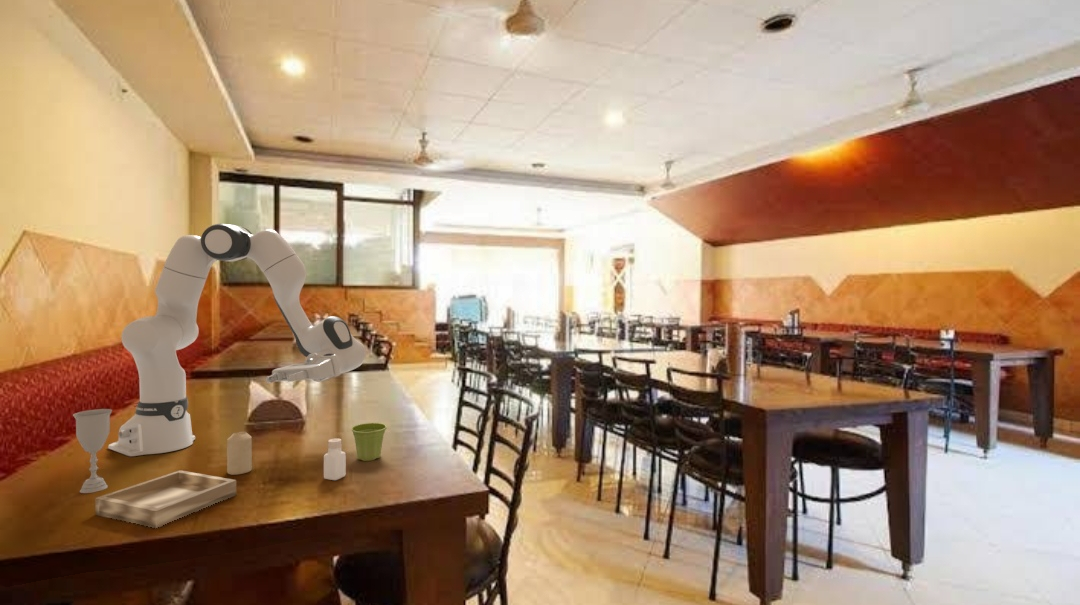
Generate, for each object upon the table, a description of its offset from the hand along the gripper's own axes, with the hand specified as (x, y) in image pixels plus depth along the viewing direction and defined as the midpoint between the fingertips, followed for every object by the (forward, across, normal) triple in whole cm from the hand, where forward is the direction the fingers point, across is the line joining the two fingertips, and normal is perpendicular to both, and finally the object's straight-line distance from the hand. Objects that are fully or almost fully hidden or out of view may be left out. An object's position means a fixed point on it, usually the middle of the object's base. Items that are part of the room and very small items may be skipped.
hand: (278, 379), depth 146 cm
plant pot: (-9, +19, +26) cm, 34 cm away
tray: (+35, +6, +18) cm, 40 cm away
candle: (+15, -1, +20) cm, 25 cm away
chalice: (+39, -18, +14) cm, 45 cm away
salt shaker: (+6, +23, +25) cm, 35 cm away
